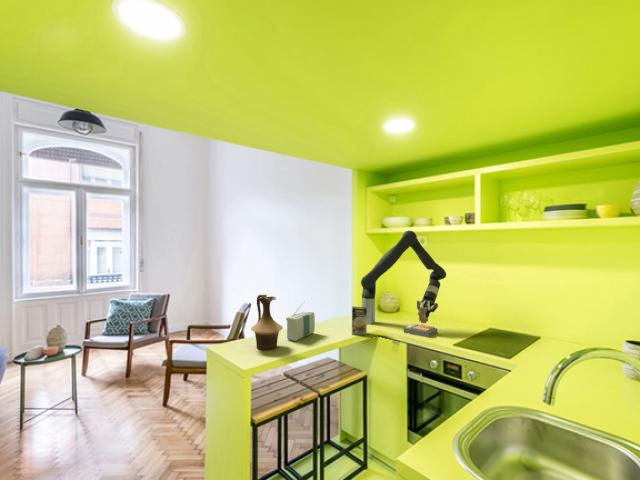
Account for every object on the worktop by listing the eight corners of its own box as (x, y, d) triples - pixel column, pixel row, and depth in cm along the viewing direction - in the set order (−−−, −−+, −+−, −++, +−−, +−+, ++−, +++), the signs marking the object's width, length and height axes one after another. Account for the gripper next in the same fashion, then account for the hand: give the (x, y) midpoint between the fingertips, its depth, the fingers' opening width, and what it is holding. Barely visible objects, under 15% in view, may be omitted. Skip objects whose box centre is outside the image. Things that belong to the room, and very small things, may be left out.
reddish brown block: (419, 322, 198) (419, 307, 198) (422, 321, 201) (421, 306, 201) (425, 323, 195) (425, 308, 195) (428, 322, 198) (428, 307, 198)
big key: (412, 330, 197) (412, 327, 197) (420, 327, 205) (420, 324, 205) (426, 333, 191) (426, 330, 191) (434, 330, 199) (434, 326, 199)
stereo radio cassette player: (297, 342, 179) (297, 306, 180) (284, 340, 183) (285, 305, 184) (315, 333, 198) (315, 301, 198) (303, 331, 202) (303, 300, 202)
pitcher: (243, 347, 170) (243, 294, 170) (267, 340, 183) (267, 291, 183) (265, 354, 159) (265, 298, 159) (289, 346, 172) (289, 294, 172)
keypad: (403, 332, 200) (403, 326, 200) (413, 328, 209) (413, 322, 209) (428, 337, 189) (428, 331, 189) (437, 333, 198) (437, 326, 198)
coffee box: (351, 334, 194) (351, 308, 195) (351, 332, 201) (351, 306, 201) (366, 335, 193) (366, 308, 194) (366, 332, 200) (366, 306, 200)
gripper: (418, 289, 209) (410, 310, 200) (440, 291, 200) (432, 314, 190) (422, 296, 213) (414, 318, 204) (443, 299, 203) (435, 321, 194)
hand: (422, 316), depth 197 cm, fingers closed on reddish brown block, 4 cm apart
